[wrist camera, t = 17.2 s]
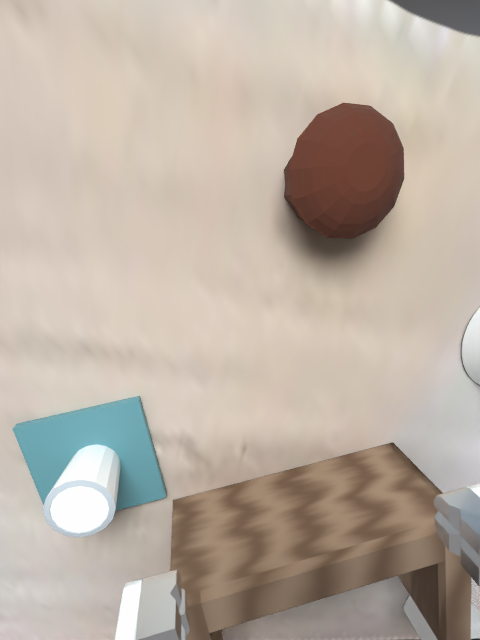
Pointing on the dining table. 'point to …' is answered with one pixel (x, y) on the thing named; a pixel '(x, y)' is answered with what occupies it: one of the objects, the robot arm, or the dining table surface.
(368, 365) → the dining table surface
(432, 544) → the box
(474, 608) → the medicine bottle
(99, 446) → the shot glass
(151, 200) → the dining table surface
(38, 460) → the mat
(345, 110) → the muffin
